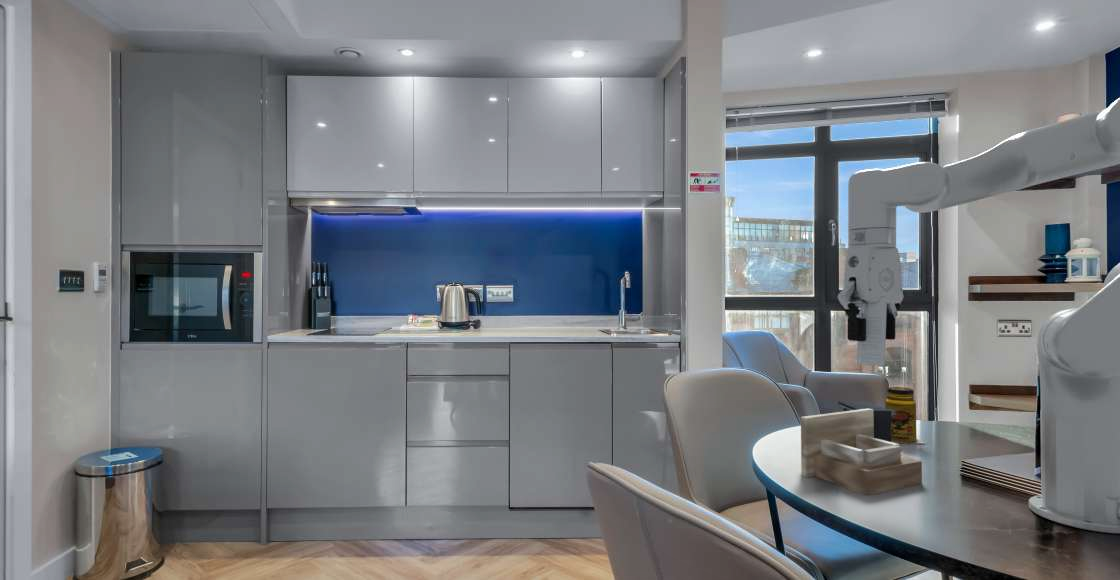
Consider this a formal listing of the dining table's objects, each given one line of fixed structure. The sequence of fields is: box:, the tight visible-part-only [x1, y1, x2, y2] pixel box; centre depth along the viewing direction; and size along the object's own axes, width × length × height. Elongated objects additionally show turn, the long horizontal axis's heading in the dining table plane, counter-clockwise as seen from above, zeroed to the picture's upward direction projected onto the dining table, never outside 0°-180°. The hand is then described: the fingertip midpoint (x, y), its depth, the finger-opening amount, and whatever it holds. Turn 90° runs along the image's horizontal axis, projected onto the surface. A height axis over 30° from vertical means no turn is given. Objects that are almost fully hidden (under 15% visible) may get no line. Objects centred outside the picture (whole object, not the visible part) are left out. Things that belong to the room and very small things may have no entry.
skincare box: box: [856, 297, 887, 366], centre depth 101 cm, size 6×4×12 cm
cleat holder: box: [800, 408, 923, 496], centre depth 105 cm, size 14×18×11 cm
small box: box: [838, 400, 892, 442], centre depth 120 cm, size 11×6×10 cm, turn 179°
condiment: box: [884, 386, 927, 445], centre depth 132 cm, size 7×8×12 cm
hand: (871, 339), depth 101 cm, fingers closed on skincare box, 7 cm apart
